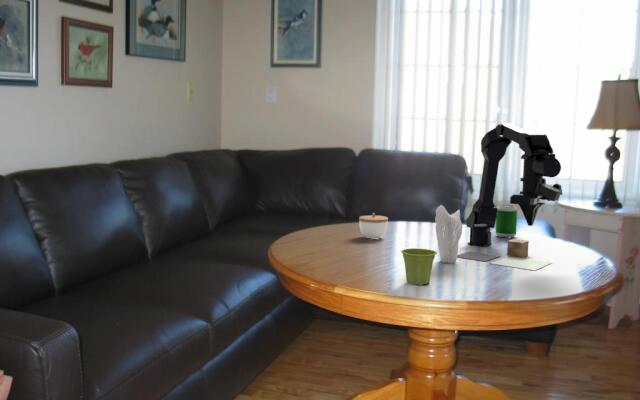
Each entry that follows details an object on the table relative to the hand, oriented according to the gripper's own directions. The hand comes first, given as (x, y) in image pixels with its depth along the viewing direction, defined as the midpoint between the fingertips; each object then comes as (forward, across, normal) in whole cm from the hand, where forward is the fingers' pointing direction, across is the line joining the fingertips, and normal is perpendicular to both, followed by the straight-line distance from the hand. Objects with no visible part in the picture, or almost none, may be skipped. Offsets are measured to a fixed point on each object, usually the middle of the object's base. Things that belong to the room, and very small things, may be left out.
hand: (530, 225), depth 203 cm
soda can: (+12, +42, +26) cm, 51 cm away
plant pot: (+13, -43, +13) cm, 47 cm away
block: (+12, +11, +8) cm, 19 cm away
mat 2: (+12, 0, +2) cm, 12 cm away
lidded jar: (+12, +4, +61) cm, 63 cm away
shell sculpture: (+12, -14, +20) cm, 28 cm away
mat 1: (+12, 0, +17) cm, 21 cm away
